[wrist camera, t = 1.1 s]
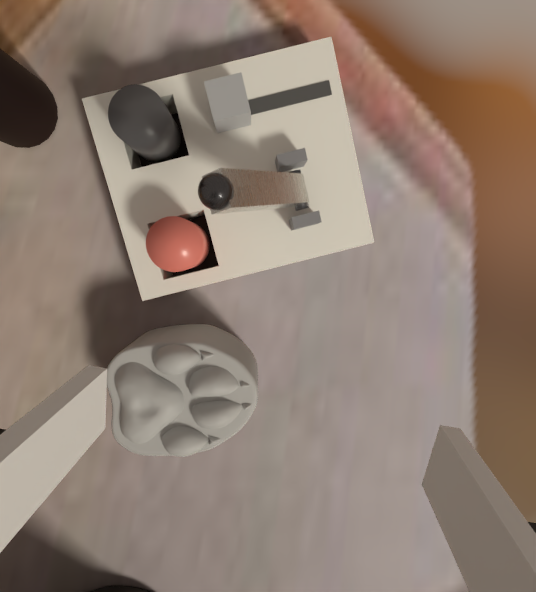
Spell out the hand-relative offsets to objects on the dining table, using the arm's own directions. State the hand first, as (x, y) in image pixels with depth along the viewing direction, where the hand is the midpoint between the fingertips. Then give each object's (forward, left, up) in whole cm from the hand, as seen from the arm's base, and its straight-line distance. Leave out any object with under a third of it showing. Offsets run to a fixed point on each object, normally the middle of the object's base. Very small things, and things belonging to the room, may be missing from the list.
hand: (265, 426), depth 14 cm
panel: (+1, +14, -24) cm, 28 cm away
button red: (-5, +9, -21) cm, 24 cm away
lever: (+6, +11, -18) cm, 22 cm away
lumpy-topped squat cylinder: (-8, -4, -24) cm, 26 cm away
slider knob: (+2, +19, -20) cm, 27 cm away
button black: (-5, +19, -21) cm, 29 cm away
